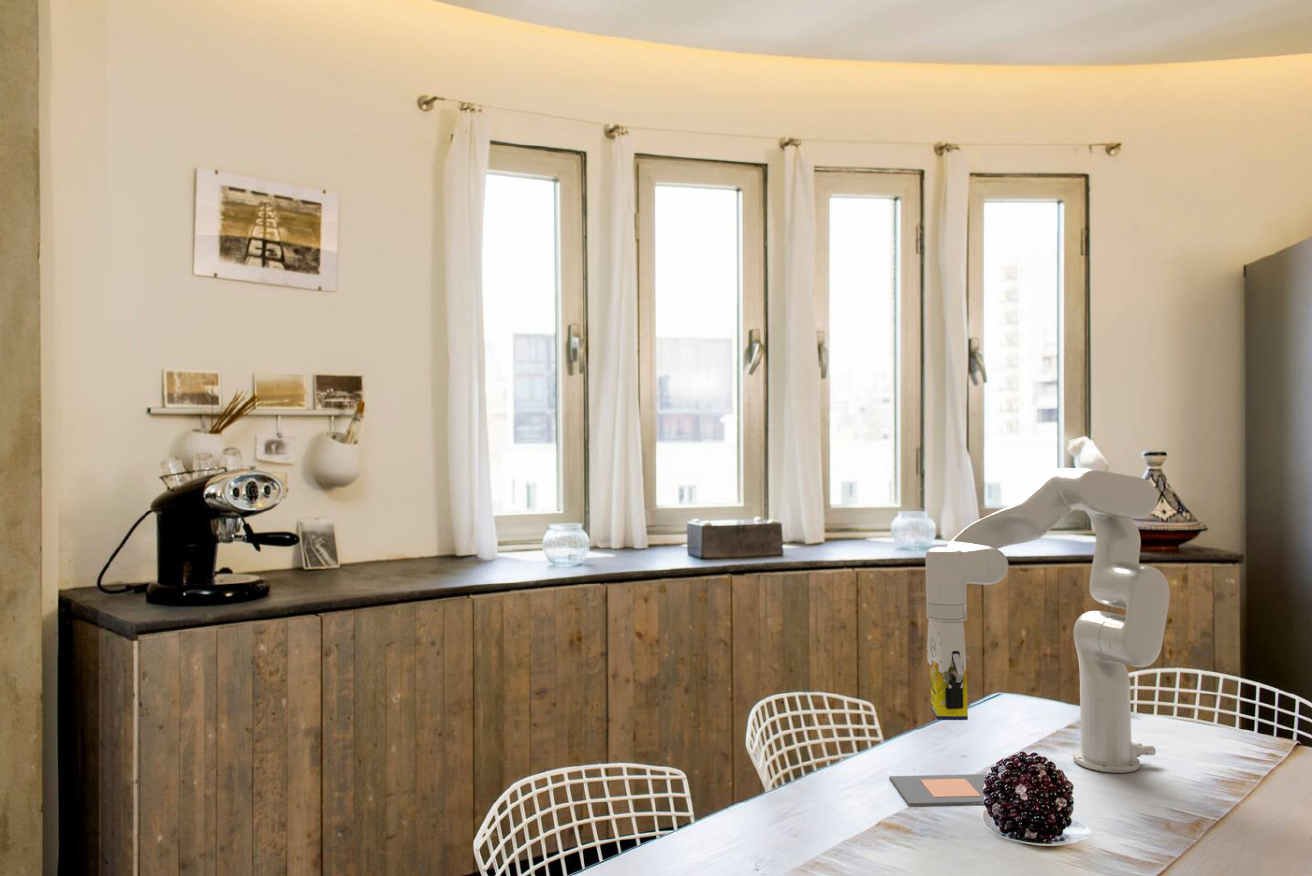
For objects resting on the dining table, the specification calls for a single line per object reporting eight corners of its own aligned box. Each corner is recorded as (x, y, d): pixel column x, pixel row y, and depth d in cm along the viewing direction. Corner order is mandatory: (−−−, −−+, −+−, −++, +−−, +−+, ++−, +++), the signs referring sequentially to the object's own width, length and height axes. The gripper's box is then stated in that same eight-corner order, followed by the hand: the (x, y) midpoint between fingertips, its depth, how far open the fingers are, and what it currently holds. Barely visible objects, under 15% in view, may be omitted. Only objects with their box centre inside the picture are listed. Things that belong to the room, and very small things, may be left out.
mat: (988, 776, 190) (987, 773, 190) (1015, 803, 176) (1014, 800, 176) (889, 778, 190) (889, 775, 190) (908, 805, 176) (908, 802, 176)
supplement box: (930, 711, 186) (929, 656, 186) (961, 711, 186) (960, 656, 186) (936, 720, 180) (935, 663, 180) (968, 720, 180) (967, 663, 180)
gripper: (914, 603, 191) (916, 691, 191) (941, 620, 174) (943, 716, 174) (951, 603, 192) (953, 690, 192) (981, 619, 174) (983, 716, 174)
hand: (948, 702), depth 183 cm, fingers closed on supplement box, 6 cm apart
